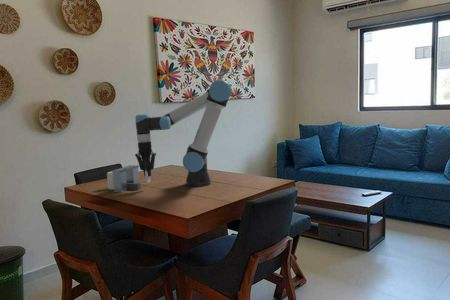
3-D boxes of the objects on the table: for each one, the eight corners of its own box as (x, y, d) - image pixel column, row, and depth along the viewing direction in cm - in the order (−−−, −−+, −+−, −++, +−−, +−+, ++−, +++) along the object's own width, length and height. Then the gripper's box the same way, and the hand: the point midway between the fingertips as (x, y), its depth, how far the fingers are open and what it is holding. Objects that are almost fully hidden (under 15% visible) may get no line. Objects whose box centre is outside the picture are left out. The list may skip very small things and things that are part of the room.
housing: (140, 185, 231) (138, 165, 229) (122, 192, 214) (120, 170, 212) (131, 185, 233) (129, 165, 231) (113, 192, 216) (111, 170, 215)
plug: (141, 188, 223) (140, 172, 222) (136, 190, 218) (135, 173, 217) (113, 187, 230) (111, 171, 229) (107, 189, 225) (106, 172, 224)
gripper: (157, 140, 216) (161, 180, 219) (138, 141, 221) (142, 180, 224) (150, 141, 209) (154, 183, 212) (130, 142, 214) (135, 183, 217)
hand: (148, 181), depth 218 cm, fingers closed
